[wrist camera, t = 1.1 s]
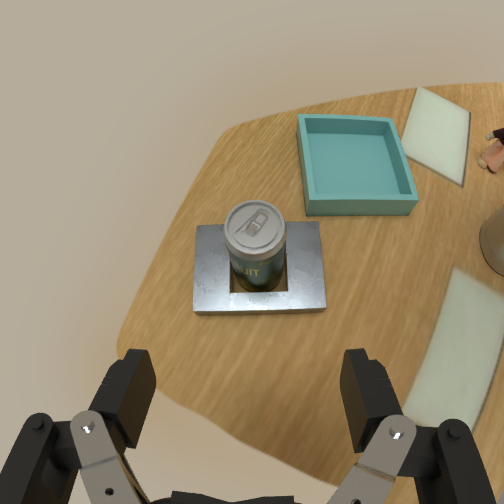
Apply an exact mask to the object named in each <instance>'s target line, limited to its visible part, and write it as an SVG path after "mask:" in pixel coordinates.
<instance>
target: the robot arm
mask: <svg viewBox="0 0 504 504" xmlns="http://www.w3.org/2000/svg"><path fill="white" fill-rule="evenodd" d="M480 244H481V249H482V252H483V254H484V257H485V259H486V260H487V262H488V264H489V265H490V266H491V267H492V268H493V270H495V271H496V272H497V273H499V274H501V275H503V276H504V205H503V206H502V207H501V208H500V209H499V210H498V211H496V212H495V213H494V214H493V215H492V216H491V217H490V218H489V219H488V220H487V221H485V223H484V224H483V225H482V228H481V231H480ZM391 385H392V384H391V382H390V379H389V378H388V374H387V372H386V370H385V367H384V366H383V365H382V364H381V363H380V362H379V361H377V360H369V359H368V356H367V354H366V351H365V349H364V348H361V349H349V350H345V353H344V359H343V364H342V369H341V375H340V390H341V394H342V399H343V403H344V407H345V412H346V416H347V421H348V425H349V430H350V434H351V439H352V443H353V448H354V453H361V452H363V454H362V456H361V457H360V459H359V460H358V462H357V463H356V464H355V465H354V466H353V467H352V469H351V470H350V472H349V473H348V475H347V476H346V478H345V479H344V480H343V482H342V483H341V485H340V486H339V488H338V489H337V490H336V492H335V493H334V495H333V496H332V497H331V499H330V500H329V501H328V503H327V504H383V502H384V501H385V499H386V497H387V495H388V494H389V492H390V490H391V488H392V486H393V484H394V482H395V480H396V479H395V478H396V476H404V477H414V481H415V485H416V490H417V495H418V500H419V504H496V501H495V497H494V494H493V491H492V488H491V485H490V482H489V479H488V476H487V473H486V470H485V468H484V465H483V462H482V459H481V457H480V454H479V451H478V449H477V446H476V444H475V441H474V439H473V436H472V434H471V431H470V429H469V427H468V426H467V425H466V424H465V423H464V422H463V421H461V420H458V419H448V420H445V421H444V422H442V423H441V424H440V426H439V427H438V428H437V427H422V426H417V425H415V424H414V422H413V421H412V420H411V419H409V418H408V417H406V416H404V415H403V413H402V410H401V407H400V405H399V402H398V400H397V397H396V394H395V392H394V389H393V387H392V386H391ZM155 389H156V376H155V372H154V369H153V366H152V362H151V359H150V356H149V353H148V351H147V350H141V349H129V350H128V351H127V353H126V355H125V357H124V359H123V360H119V359H118V360H117V361H116V362H115V363H114V364H113V365H112V366H111V367H110V368H109V370H108V372H107V374H106V376H105V377H104V379H103V381H102V385H100V387H99V389H98V391H97V393H96V395H95V397H94V399H93V401H92V403H91V405H90V407H89V409H88V410H87V411H82V412H80V413H78V414H77V415H75V416H74V417H73V419H72V421H60V422H53V420H52V419H51V417H50V416H49V415H47V414H45V413H36V414H33V415H31V416H30V417H29V418H28V419H27V420H26V422H25V424H24V425H23V428H22V429H21V431H20V433H19V435H18V437H17V439H16V441H15V443H14V445H13V447H12V449H11V452H10V454H9V456H8V458H7V460H6V463H5V465H4V467H3V469H2V471H1V473H0V504H68V502H69V499H70V495H71V492H72V489H73V486H74V483H75V479H76V476H77V473H78V470H79V469H80V474H81V477H82V480H83V483H84V485H85V488H86V491H87V493H88V496H89V499H90V501H91V503H92V504H301V503H295V502H294V496H275V497H260V498H255V499H249V500H244V501H239V502H227V501H223V500H219V499H216V498H213V497H209V496H205V495H203V494H196V493H187V492H178V491H172V495H171V497H169V498H163V499H159V500H155V501H153V502H150V501H149V499H148V498H147V496H146V494H145V493H144V491H143V490H142V488H141V486H140V484H139V483H138V481H137V479H136V477H135V475H134V473H133V471H132V469H131V467H130V465H129V463H128V461H127V459H126V457H125V455H124V452H125V449H126V447H128V448H134V449H135V448H136V446H137V443H138V439H139V436H140V433H141V430H142V427H143V424H144V421H145V418H146V415H147V412H148V409H149V406H150V403H151V401H152V397H153V394H154V392H155Z"/></svg>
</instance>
